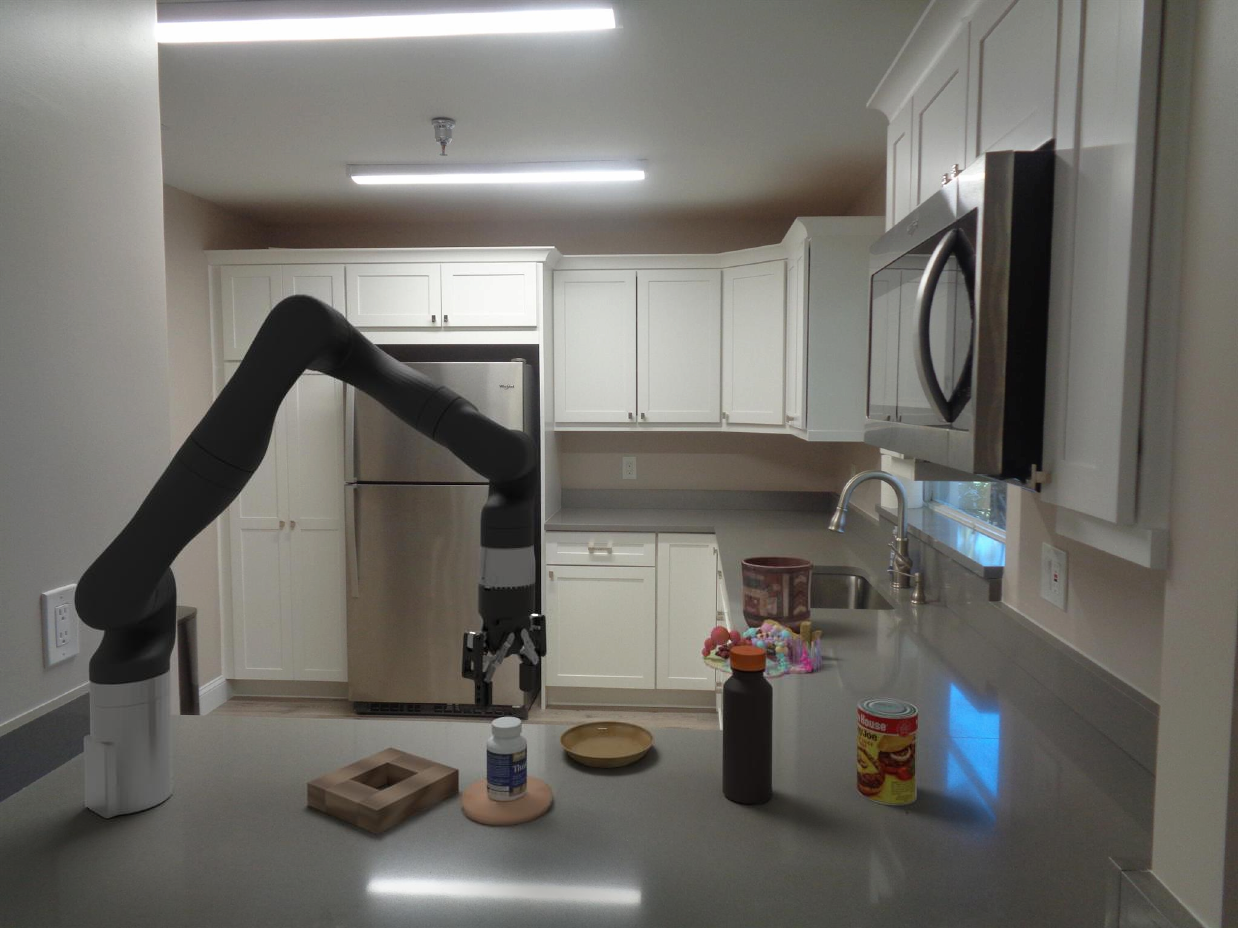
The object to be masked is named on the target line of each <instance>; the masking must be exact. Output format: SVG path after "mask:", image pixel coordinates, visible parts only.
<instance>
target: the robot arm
mask: <svg viewBox="0 0 1238 928" xmlns="http://www.w3.org/2000/svg"><path fill="white" fill-rule="evenodd" d="M306 370H308V371H312V372H318V373H321V374H323V375H326V376H328V377H331V378H333V379H336V380H339V381H341V382H343V383H346V384H348V385H350V386H352V387H354V388H356V389H358V390H359V391H361V392H362V393H364V394H366V395H368V396H369V397H371V398H373V399H374V400H375V401H376V402H378V403H379V404H380V405H382V406H383V407H384V408H385V409H386V410H388V411H389V412H390V413H391V414H393V415H394V416H395V417H396V418H398V419H400V420H401V421H402V422H404V423H405V424H406V425H408V426H409V427H411V428H412V429H414V430H415V431H417V432H419V433H420V434H422V435H423V436H425V437H427V438H428V439H430V440H432V441H433V442H435V443H437V444H438V445H440V446H441V447H444V448H445V449H447V450H449V452H451V454H453V455H454V456H455V457H456V458H457V459H458V460H460V461H461V462H462V463H464V464H465V465H466V466H467V467H468V468H470V469H471V470H472V471H474V473H476V474H477V475H480V476H481V477H483V478H485V479H486V480H488V494H487V499H486V502H485V503H484V505H483V506H482V508H481V512H480V521H479V522H480V537H479V539H480V542H479V543H480V544H479V545H480V547H479V557H478V563H477V564H478V565H477V568H478V569H477V571H478V572H477V577H478V578H477V579H478V580H477V583H478V584H477V613H478V614H479V616H480V617H481V618H482V625H481V629H480V630H477V631H470V630H466V631H465V632H464V633H463V636H462V639H463V640H462V658H461V659H462V661H461V678H464V679H468V680H471V681H473V682H474V704H475V707H476V708H477V709H479V710H482V711H486V712H487V711H490V710H491V709H493V686H494V685H493V681H492V678H493V676H494V674H495V672H496V670H497V668H499V667H501V665H502V664H503V661H504V659H506V658H509V657H510V656H512V655H516V656H517V658H518V660H519V661H520V663H519V664H518V665H519V666H518V671H519V672H518V674H519V675H518V683H519V684H518V688H519V690H520V692H521V691H522V692H526V693H533V692H534V691H535V689H536V688H535V685H536V681H537V680H536V678H537V675H536V673H537V671H536V667H537V664H538V663H539V659H540V658H541V657H543V658H545V657H546V655H547V652H548V650H547V623H546V622H547V619H546V617H547V616H546V615H545V614H540V613H535V611H536V557H535V550H534V549H535V548H534V546H535V545H534V539H535V538H534V536H535V534H534V533H535V532H534V531H535V528H534V525H535V524H534V523H535V521H534V505H535V500H536V495H537V485H538V478H539V470H540V469H539V466H540V464H539V463H540V461H539V460H540V459H539V450H538V447H537V445H536V442H535V440H534V439H533V438H532V437H531V435H529V434H527V433H526V432H525V431H522V430H518V429H509V428H507V427H505V426H503V425H501V424H500V423H498V422H496V421H495V420H492V419H491V418H489V417H488V416H486V415H484V414H483V413H481V412H480V411H479V409H478V407H476V405H475V404H473V403H472V402H471V401H469V400H467V398H465V397H463V396H462V395H460V394H459V393H457V392H455V391H454V390H452V389H450V388H449V387H447V386H446V385H444V384H442V383H440V382H439V381H437V380H436V379H434V378H432V377H430V376H429V375H426V374H424V373H422V372H421V371H419V370H416V369H415V368H413V367H410V366H408V365H406V364H405V363H403V362H401V361H400V360H398V359H396V358H394V357H393V356H392V355H389V354H388V353H386V352H385V351H383V349H381V348H379V347H378V346H377V345H376V344H375V343H373V342H372V341H371V340H370V339H368V338H367V337H366V336H365V335H364V334H362V332H361V331H360V330H359V329H358V328H356V327H355V326H354V325H353V324H352V323H350V321H348V320H347V318H346V317H345V316H344V314H343V313H342V312H340V311H339V310H337V309H336V308H334V307H333V306H331V305H330V304H328V303H326V302H325V301H323V300H322V299H321V298H319V297H317V296H314V295H313V294H307V293H295V294H292V295H290V296H287V297H284V298H283V299H282V300H280V301H279V302H278V303H277V304H276V305H275V306H274V307H273V308H271V310H270V311H269V313H268V315H267V316H266V318H265V319H264V321H263V323H262V324H261V326H260V328H259V329H258V332H257V333H256V335H255V337H254V339H253V340H252V342H251V344H250V346H249V348H248V349H247V351H246V352H245V355H244V357H243V358H242V360H241V362H240V363H239V365H238V367H237V368H236V370H235V372H233V375H231V377H230V379H229V380H228V381H227V383H226V384H225V385H224V387H223V389H222V390H221V391H220V393H219V394H218V396H217V397H216V398H215V400H214V401H213V402H212V404H211V406H210V407H209V408H208V411H206V413H205V415H204V416H203V417H202V419H201V420H200V421H199V422H198V423H197V425H196V426H195V427H194V428H193V430H192V431H191V432H190V434H189V435H188V437H187V438H186V439H185V441H184V442H183V443H182V445H181V446H180V448H179V449H178V450H177V452H176V453H175V455H174V456H173V457H172V460H171V461H170V462H169V464H168V466H167V467H166V468H165V470H164V471H163V473H162V474H161V476H159V478H158V480H157V481H156V482H155V484H154V485H153V487H152V488H151V489H150V491H149V492H148V494H147V496H146V497H145V498H144V500H143V501H142V503H141V505H140V506H139V507H138V508H137V510H136V512H135V513H134V515H133V517H131V519H130V520H129V522H128V523H127V524H126V525H125V527H124V528H123V529H122V530H121V531H120V533H119V534H118V535H117V536H116V537H115V538H114V539H113V540H112V541H111V542H110V544H109V545H108V546H107V547H106V548H105V549H104V550H103V551H102V552H101V554H99V555H98V556H97V558H96V559H95V560H94V561H93V563H92V562H91V563H92V564H91V565H90V566H88V568H87V569H86V570H85V572H83V574H82V576H81V577H80V578H79V580H78V583H77V585H76V588H75V592H74V599H73V601H74V608H75V611H76V614H77V616H78V618H79V619H80V621H81V622H82V623H84V625H86V626H88V627H89V628H91V629H95V630H98V631H103V636H102V639H101V642H100V643H99V645H98V647H97V649H96V650H95V652H94V653H93V654H92V656H91V657H90V660H89V662H88V663H89V664H88V680H89V681H88V682H89V683H88V684H89V723H90V724H89V727H90V729H89V732H90V734H87V735H85V736H84V738H83V767H84V798H85V799H84V806H86V807H85V808H87V807H88V808H89V810H90V811H92V812H94V813H95V814H96V815H99V816H101V817H102V818H105V819H110V818H113V817H116V816H119V815H121V816H122V815H127V814H131V813H132V814H133V813H137V812H141V811H144V810H145V811H146V810H148V809H150V808H152V807H155V806H157V805H159V804H161V803H162V802H164V801H166V800H167V799H168V798H170V797H171V795H172V794H173V780H174V778H173V759H172V758H173V756H172V753H173V752H172V751H173V750H172V749H173V748H172V700H171V699H172V697H171V695H172V693H171V690H172V689H171V656H172V652H173V651H174V647H175V644H176V637H177V635H176V634H177V605H178V604H177V601H178V600H177V599H178V594H177V584H176V583H177V582H176V578H175V575H174V572H173V570H172V568H171V566H172V564H173V563H174V562H175V560H176V559H177V557H178V556H179V555H180V553H181V552H182V551H183V550H184V549H185V547H186V546H188V544H189V543H191V541H193V539H194V538H196V537H197V536H198V535H199V534H201V532H203V531H204V530H205V529H206V528H207V527H208V526H209V525H211V523H212V522H214V521H215V520H216V519H217V518H218V517H220V515H221V514H222V513H224V511H225V510H226V509H227V508H228V507H229V506H230V505H231V504H232V503H233V502H234V501H235V500H236V499H237V497H238V496H239V495H240V494H241V492H242V491H243V490H244V488H245V487H246V485H248V483H249V481H250V480H251V478H252V477H253V476H254V475H255V473H256V471H257V470H258V469H259V467H260V465H261V464H262V462H263V460H264V458H265V456H266V454H267V451H268V448H269V446H270V442H271V438H272V434H273V429H274V425H275V421H276V417H277V414H278V412H279V408H280V406H281V404H282V402H283V401H284V399H285V397H286V395H287V394H288V393H289V392H290V390H291V389H292V388H293V387H294V385H295V383H296V382H297V381H298V380H299V378H301V376H302V375H303V374H304V372H305V371H306ZM536 640H537V642H538V646H537V644H536V643H537V642H536ZM488 654H490V655H491V656H490V655H488ZM472 663H473V667H472ZM486 665H487V667H486ZM485 667H486V669H485V671H484V668H485ZM472 668H473V669H472ZM88 808H87V809H88Z"/></svg>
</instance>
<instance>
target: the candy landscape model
mask: <svg viewBox="0 0 1238 928" xmlns="http://www.w3.org/2000/svg"><path fill="white" fill-rule="evenodd" d="M811 628H812V622H811V621H809V622H808V621H806V622H802V623H801V627H800V633H799V634H795V633H793V632H792V630H791V629H790V628H787V627H784V626H782V625H780V624H779V623H778V622H776V621H773V620H771V619H769V620H765V621H764V622H763V625H762V626H761V627H759V628H748V629H747V631H745V632H742V633H743V634H742V636H741V633H740V632H739V631H738V630H737V629H736V630H735V629H733V630H731V631H729V630H728V629H727V628H726V627H725V626H722V625H718V626H716V627H713V629H711V632H710V637H708V638H706V639H705V641H704V642H703V643H704V647H703V648H702V651H701V653H702V659H703V664H705V665H706V666H707V667H709V668H711V669H713V670H715V671H720V672H722V673H726V674H729V675H732V670H731V669H730V649H731V648H733V647H736V646H756V647H760V648H763V649H764V650H765V651H766V668H765V672H763V676H764V678H765V679H774V678H775V679H776V678H779V677H781V676H783V675H785V674H786V675H787V674H792V675H793V674H795V675H797V674H806V673H811V672H812V671H816V670H817V669H818V670H820V668H821V665H823V661H822V660H823V658H822V651H821V639H820V638H821V636H822V633H823V632H822V630H821V629H820V630H814V631H812V632H811V633H810V631H811ZM729 641H730V643H728V642H729ZM718 646H719V647H718ZM716 648H717V650H715V649H716ZM714 650H715V651H714ZM711 651H712V652H711Z"/></svg>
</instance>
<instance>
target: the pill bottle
mask: <svg viewBox="0 0 1238 928" xmlns="http://www.w3.org/2000/svg"><path fill="white" fill-rule="evenodd" d="M522 725H523V724H522V720H521V719H520V718H518V717H514V716H504V717H498V718H495V719H494V720H492V722H491V730H490V731H491V734H492V735H491V736H490V737H489V738H488V740H487V741H486V778H487V794H488V796H489V797H490V798H491V799H494V800H498V801H513V800H516V799H519V798H521V797H522V796H523V795H525V793H526V791H527V776H528V741H527V738H526V737H525V736H524V734H522V730H523V726H522Z"/></svg>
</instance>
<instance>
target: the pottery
mask: <svg viewBox="0 0 1238 928" xmlns="http://www.w3.org/2000/svg"><path fill="white" fill-rule="evenodd" d="M740 562H741V574H742V575H741V576H742V591H743V592H742V613H743V617H744V619H743V620H744V621H745V623H746V625H747V627H748V629H750V628H759V627H761V626H762V625H763V622H764V621H765V620H769V619H771V620H773V621H776V622H778V623H779V624H780V625H782V626H784V627H787V628H790V629H791V630H792V632H793V633H795V634H799V635H800V627H801V623H802V622H806V621H808V622H810V618H811V585H812V575H813V568H814V562H813V561H811V560H808V559H805V558H801V557H800V558H799V557H792V556H777V555H774V556H773V555H772V556H770V555H769V556H768V555H767V556H766V555H765V556H754V557H747V558H745V559H742V560H741V561H740Z"/></svg>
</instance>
